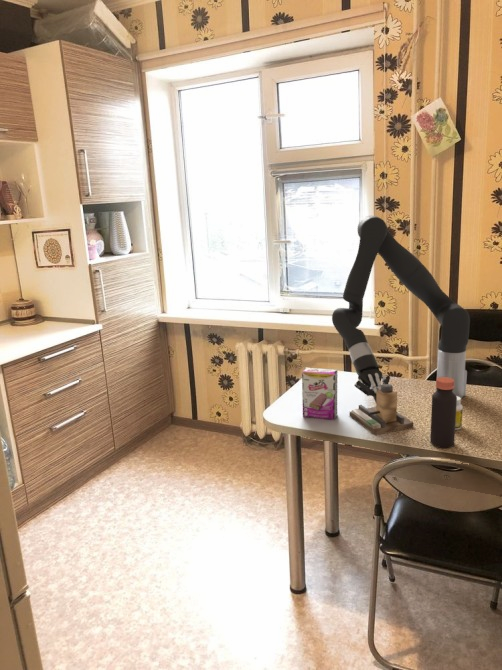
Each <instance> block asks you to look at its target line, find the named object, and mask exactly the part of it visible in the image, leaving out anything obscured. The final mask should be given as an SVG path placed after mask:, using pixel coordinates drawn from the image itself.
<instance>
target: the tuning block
mask: <svg viewBox="0 0 502 670" xmlns="http://www.w3.org/2000/svg"><path fill="white" fill-rule="evenodd" d="M382 384H383V383H382ZM382 384H381V389H379V390H376V402H375V405H376V406H375V407H376V411H375V412H370V413H368V415H374V414H376V415H377V416H378V417H380V418H381V419H383V420H384V421H385V422H386V423H389V422H394V421H396V420H397V412H398V410H397V409H398V408H397V407H398V391H397V390H395V389H394V386H393V384H390V383H388V384H383V385H382Z"/></svg>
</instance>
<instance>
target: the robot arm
mask: <svg viewBox="0 0 502 670" xmlns="http://www.w3.org/2000/svg"><path fill="white" fill-rule="evenodd" d="M357 234H358V235H357V236H359V246H358V250H357V254H356V256H355V260H354V262H353V265H352V268H351V269H350V272H349V275H348V277H347V280H346V283H345V288H344V290H343V294H342V298H343V300H344V301H345V302H347V303H348V308H346V307H338V308H336V309H334V310H333V312H332V315H331V321H332V325H333V327H334V328H335V330H336V331H337V333H338V334H339V335H340V337H341V338H342V340H344V342H345V345H346V348H347V349H348V352H349V356H350V360H351V362H352V364H353V367H354V369H355V372H356V375H358V376H357V379H358V380H357V381H356V382H355V383H354V387H355V388H356V389H358V390H359V391H361V393H363V394H364V395H366V396H367V397H370V396H372V397H373V400H374V402H375V403H376V390H379V389H381V385H383V384H390V379H391V376H390V375H387V376H386V375H384V374H383V372H382V371H381V370H380V368H379V367H380V366H379V364H378V362H377V359H376V356H375V355H374V352H373V349H372V347H371V346H370V344H369V342H368V340H367V336H366V335H365V333H364V331H363V330H361V329H359V328H358V327H359V326H360V324H361V322H362V320H363V312H364V311H363V305H364V304H363V303H364V302H363V301H364V297H365V293H366V291H367V286H368V283H369V281H370V280H369V279H370V275H371V272H372V269H373V266H374V263H375V260H376V257H377V255H379V256H380V257H381V258H382V260H383V261H384V262H385V263H386V265H387V267H388V268H389V270H391V272H392V273H393V275H395V277H396V278H397V279H398V280H399V282H401V283H402V285H403V286H404V287H405V288H406V289H408V291H409V292H410V293H411V294H413V295H414V297H416V298H417V299H418V300H420V301H421V302H423V303H424V304H425V305H426V307H427V308H428V309H429V310H430V312H431V313H432V315H434V317H435V318H436V320H437V322H438V323H439V324H440V326H441V335H440V339H439V341H438V345H437V366H436V367H437V368H436V379H437V378H440V377H448V378H452V379H453V380H454V389H453V393H454V394H455V395H456V396H458V397H460V398H461V399H462V398H464V397H465V396H466V395H467V376H468V371H467V369H466V355H467V354H466V353H467V352H466V351H467V346H468V343H469V337H470V325H471V317H470V314H469V312H468V311H467V310H466V309H465V308H464V307H463V306H461V305H459V304H458V303H457V302H455V301H454V300H453V299H452V298H451V297H449V295H447V294H446V293H445V292H444V291H443V289H441V287H440V286H439V284H438V283H437V281H436V279H435V278H434V276H433V275H432V274H431V272H430V271H429V270H428V269H427V267H426V266H425V265H424V264H423V263H422V262H421V261H420V259H418V257H416V256H415V255H414V254H413V253H411V251H409V250H408V249H407V248H405V247H404V246H403V245H401V244H400V243H399V242H398V240H397V239H395V237H394V236H393V235H392V233H391V232H390V231H389V230H388V226H387V223H386V221H385V220H384V219H382V218H380V217H379V216H376V215H367V216H365V217H363V218H361V220H360V221H359V222H358V224H357ZM381 382H382V383H381ZM436 391H437V389H436V388H435V392H436Z"/></svg>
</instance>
